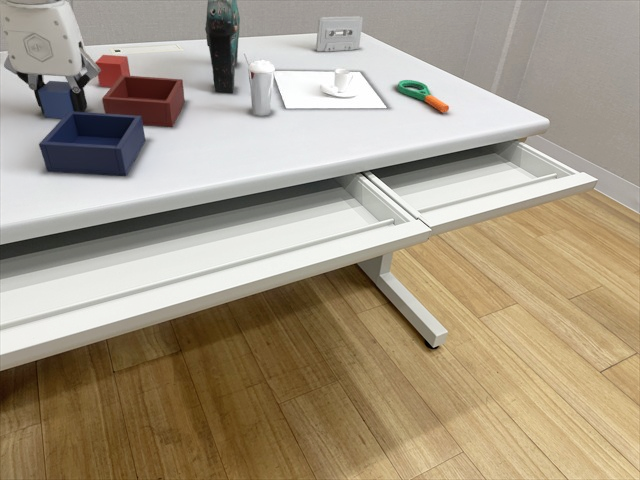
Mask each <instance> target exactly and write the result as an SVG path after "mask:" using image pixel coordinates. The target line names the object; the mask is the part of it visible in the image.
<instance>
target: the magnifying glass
mask: <svg viewBox="0 0 640 480" xmlns="http://www.w3.org/2000/svg"><path fill="white" fill-rule="evenodd" d="M407 87H415V88H419V90H418V89H410V88H407ZM428 87H429V86H428V85H427V84H425V83H424V82H421V81H418V80H413V79H403V80H400V81H399V82H398V84H397V90H398V91H399V92H400V93H401V94H403V95H406V96H409V97H412V98H415V99H418V100H421V101H423V102H425V103H427V104H429V105H430V106H431V107H433V108H435V109H436V110H437V111H439V112H440V113H447V112H448V111H449V110H450V106H449V105H448V104H447V103H445V102H443V101H441V100H440V99H439V98H437V97H435V96H434V95H432V94H431V92H430V89H429V88H428Z"/></svg>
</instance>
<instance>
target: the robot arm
mask: <svg viewBox="0 0 640 480" xmlns="http://www.w3.org/2000/svg"><path fill="white" fill-rule="evenodd" d="M73 11H74V10H73ZM73 11H72V9H71V7H70V5H69V2H68V1H64V0H0V23H1V28H2V34H3V39H4V42H5V47H6V51H7V56H6V59H5V60H4V63H3V67H4V68H5V69H6V70H8V71H9V72H10V73H12V74H14V75H17V77H18V79H20V80H22V81H23V82H24V83H25V84H26V85H28V88H29V89H30V90H31V91H33V93H34V96H35V100H36V103H37V106H38V107H39V108H40V112H41V113H42V114H43V115H45V114H44V110H43V107H42V104H41V100H40V97H39V93H38V90H39V89H41V88H42V87H43V86H44V85H45V84H46V83H45V76H52V77H53V76H55V77H65V79H66V82H68V83H69V85H70V87H71V89H72V92H71V93H70V97H71V101H72V105H73V109H74V112H86V110H87V108H88V103H87V98H86V94H85V89H84V88H85V87H86V86H87V85H88V83H89V82H90V81H92V80H93V79H95V78H96V77H98V74H99V73H100V72H101V69H100V68H99V66H98V65H97V64H96V63H95V62H96V61H94V60H93V58H92V57H91V56H90V55H89V54H88V53H87V50H86V46H85V43H84V40H83V36H82V32H81V29H80V27H79V24H78V21H77V18H76V16H75V12H74V13H73ZM83 68H85V69H86V72H85V73H83V74H82V73H81V72H82V69H83Z"/></svg>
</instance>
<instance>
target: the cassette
mask: <svg viewBox="0 0 640 480" xmlns="http://www.w3.org/2000/svg"><path fill="white" fill-rule="evenodd" d="M363 21H364V17H362V16H361V15H354V16H351V15H350V16H320V17H318V19H317V31H316V45H315V49H316V51H317V52H339V51H353V50H359V49H360V44H361V35H362V28H363ZM337 31H343V32H342V33H340V34H338V33H337Z"/></svg>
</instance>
